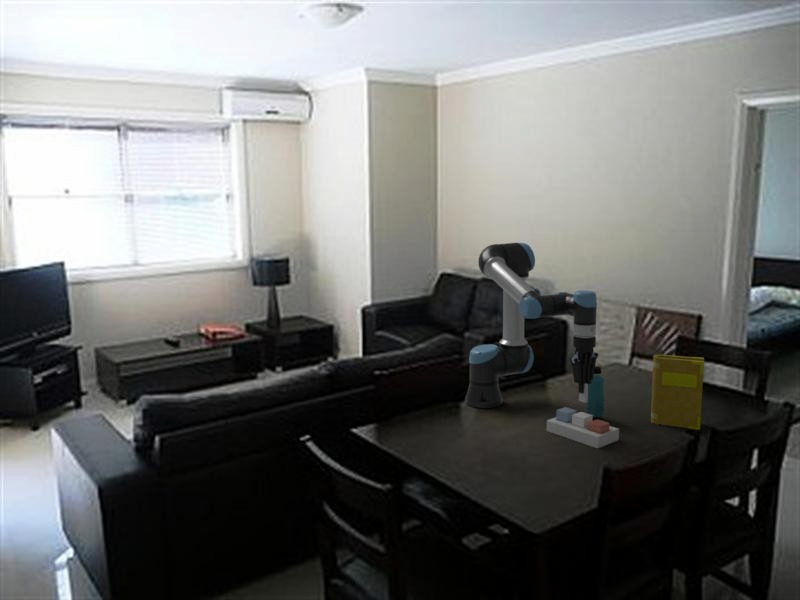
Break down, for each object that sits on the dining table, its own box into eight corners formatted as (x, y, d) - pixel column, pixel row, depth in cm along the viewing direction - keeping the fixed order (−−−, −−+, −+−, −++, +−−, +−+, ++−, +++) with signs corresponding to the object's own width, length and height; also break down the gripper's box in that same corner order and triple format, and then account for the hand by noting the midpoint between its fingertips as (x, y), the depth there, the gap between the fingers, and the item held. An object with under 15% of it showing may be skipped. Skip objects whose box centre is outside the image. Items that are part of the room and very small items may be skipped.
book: (700, 423, 253) (704, 357, 249) (699, 429, 247) (703, 362, 243) (651, 418, 260) (654, 353, 256) (649, 423, 254) (652, 358, 250)
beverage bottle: (604, 421, 258) (605, 369, 254) (585, 420, 259) (587, 369, 256) (602, 415, 264) (604, 365, 261) (584, 415, 265) (586, 364, 262)
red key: (588, 436, 239) (588, 422, 238) (597, 432, 242) (597, 419, 241) (600, 440, 235) (600, 426, 234) (609, 436, 238) (609, 423, 237)
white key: (571, 428, 244) (572, 414, 244) (580, 425, 247) (581, 411, 247) (583, 432, 240) (583, 418, 240) (592, 428, 244) (592, 415, 243)
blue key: (556, 423, 250) (556, 410, 249) (565, 420, 253) (565, 407, 252) (567, 426, 246) (567, 413, 245) (576, 423, 249) (576, 410, 248)
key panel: (546, 430, 249) (546, 420, 249) (567, 423, 257) (568, 413, 256) (597, 448, 232) (597, 437, 231) (618, 439, 239) (619, 428, 239)
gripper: (581, 340, 231) (580, 407, 235) (605, 334, 239) (603, 400, 243) (563, 336, 237) (562, 402, 241) (587, 331, 245) (586, 395, 249)
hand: (583, 401), depth 242 cm, fingers closed
